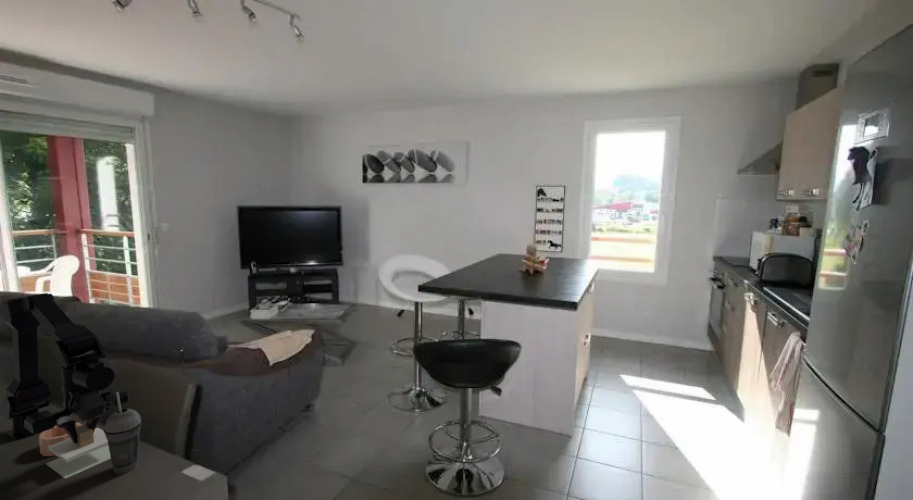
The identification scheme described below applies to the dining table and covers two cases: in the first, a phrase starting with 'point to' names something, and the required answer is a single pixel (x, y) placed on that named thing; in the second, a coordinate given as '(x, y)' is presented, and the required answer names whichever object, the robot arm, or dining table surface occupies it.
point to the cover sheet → (75, 450)
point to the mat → (80, 462)
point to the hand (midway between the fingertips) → (82, 440)
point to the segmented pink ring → (52, 439)
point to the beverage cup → (123, 438)
